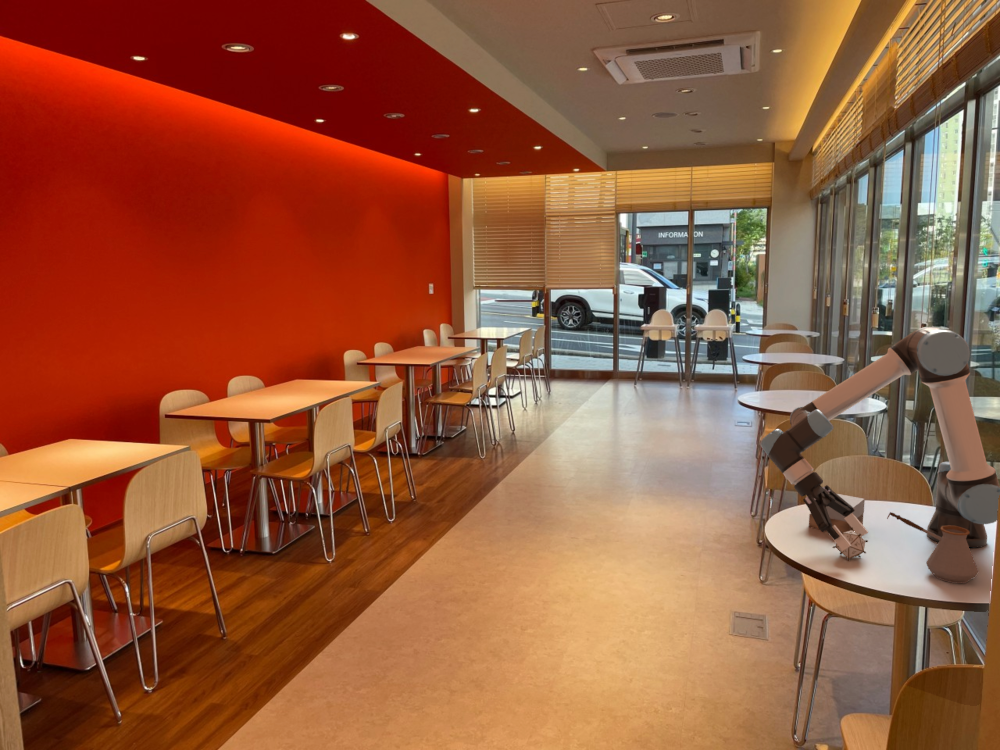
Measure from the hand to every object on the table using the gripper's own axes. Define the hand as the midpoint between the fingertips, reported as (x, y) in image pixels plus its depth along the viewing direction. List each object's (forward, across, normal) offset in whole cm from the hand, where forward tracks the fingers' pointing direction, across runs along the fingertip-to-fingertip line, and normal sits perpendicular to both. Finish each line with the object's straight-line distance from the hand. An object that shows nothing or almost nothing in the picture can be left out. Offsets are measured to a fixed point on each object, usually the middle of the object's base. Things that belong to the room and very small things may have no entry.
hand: (856, 541), depth 204 cm
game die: (+3, 0, -5) cm, 6 cm away
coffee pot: (+16, -3, +9) cm, 19 cm away
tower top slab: (-9, -24, -10) cm, 28 cm away
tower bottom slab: (-6, -24, -14) cm, 28 cm away
